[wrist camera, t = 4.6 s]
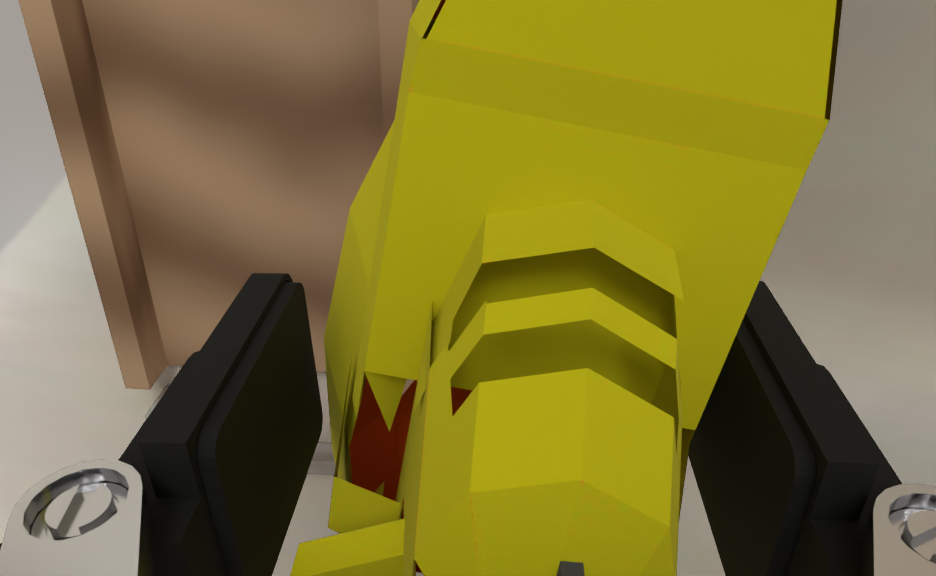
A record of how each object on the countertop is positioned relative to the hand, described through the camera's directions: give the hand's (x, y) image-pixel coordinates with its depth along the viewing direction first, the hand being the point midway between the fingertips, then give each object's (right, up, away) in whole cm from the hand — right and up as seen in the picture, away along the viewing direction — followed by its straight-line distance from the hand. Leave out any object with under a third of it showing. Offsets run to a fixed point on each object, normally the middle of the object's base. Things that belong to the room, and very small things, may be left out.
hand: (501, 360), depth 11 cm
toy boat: (0, +1, +2) cm, 2 cm away
